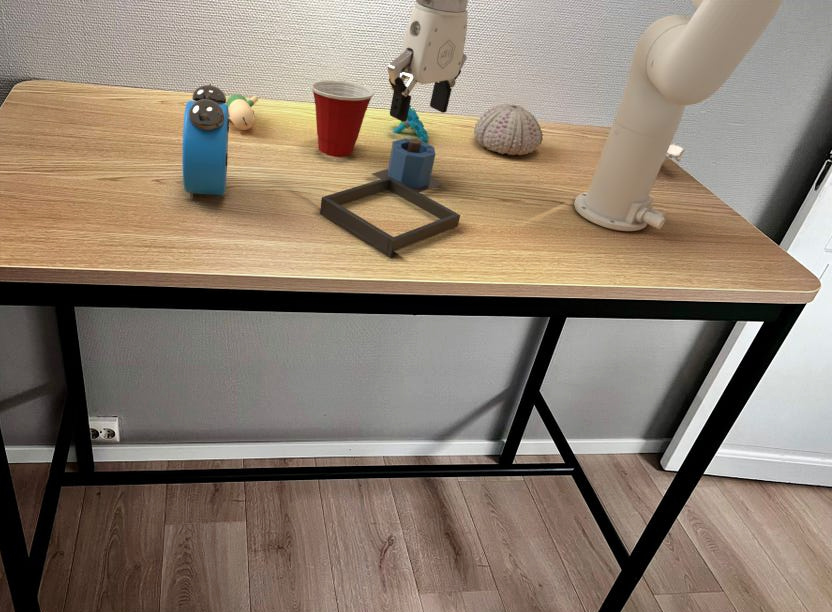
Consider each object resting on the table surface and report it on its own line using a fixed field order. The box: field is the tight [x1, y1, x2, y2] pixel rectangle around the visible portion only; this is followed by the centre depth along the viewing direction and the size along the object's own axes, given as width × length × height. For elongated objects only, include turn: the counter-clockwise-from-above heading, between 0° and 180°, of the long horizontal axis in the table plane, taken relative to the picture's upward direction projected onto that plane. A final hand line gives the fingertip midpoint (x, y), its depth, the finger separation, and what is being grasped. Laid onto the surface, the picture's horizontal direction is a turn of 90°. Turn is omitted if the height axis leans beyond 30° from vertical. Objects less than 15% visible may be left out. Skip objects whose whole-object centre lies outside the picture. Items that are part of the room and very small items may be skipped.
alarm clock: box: [181, 83, 230, 200], centre depth 107 cm, size 13×6×15 cm, turn 6°
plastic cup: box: [310, 79, 375, 158], centre depth 125 cm, size 11×11×12 cm
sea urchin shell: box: [473, 103, 544, 156], centre depth 141 cm, size 13×14×8 cm
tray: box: [319, 177, 461, 258], centre depth 111 cm, size 15×15×3 cm
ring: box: [387, 138, 436, 188], centre depth 121 cm, size 7×7×6 cm
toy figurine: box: [225, 93, 259, 131], centre depth 133 cm, size 8×4×12 cm
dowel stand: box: [371, 138, 445, 193], centre depth 121 cm, size 9×9×8 cm
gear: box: [391, 104, 429, 143], centre depth 138 cm, size 11×6×10 cm
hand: (418, 114), depth 116 cm, fingers open, 9 cm apart
